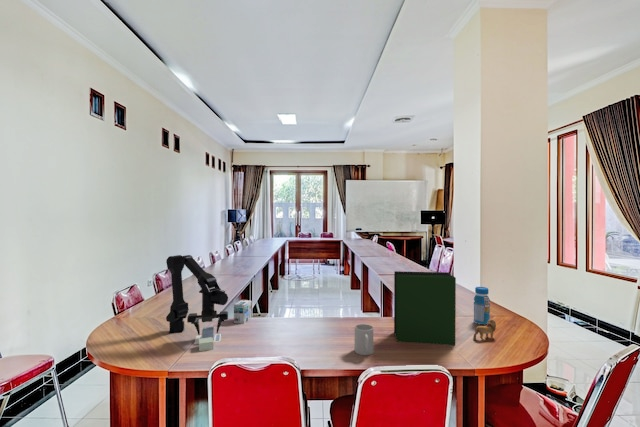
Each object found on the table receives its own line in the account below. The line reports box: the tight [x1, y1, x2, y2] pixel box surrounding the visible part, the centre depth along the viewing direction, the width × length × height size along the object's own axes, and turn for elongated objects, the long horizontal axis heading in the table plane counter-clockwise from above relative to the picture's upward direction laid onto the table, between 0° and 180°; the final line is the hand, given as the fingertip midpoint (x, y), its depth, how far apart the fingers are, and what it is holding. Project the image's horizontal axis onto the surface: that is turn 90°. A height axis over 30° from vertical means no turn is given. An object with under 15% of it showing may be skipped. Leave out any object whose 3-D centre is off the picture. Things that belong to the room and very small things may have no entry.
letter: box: [193, 333, 222, 345], centre depth 165 cm, size 12×11×1 cm
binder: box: [393, 270, 457, 346], centre depth 168 cm, size 27×15×32 cm, turn 83°
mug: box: [353, 323, 374, 356], centre depth 150 cm, size 12×8×11 cm
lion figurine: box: [473, 318, 497, 342], centre depth 167 cm, size 15×5×9 cm, turn 119°
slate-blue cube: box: [201, 325, 215, 338], centre depth 165 cm, size 5×5×5 cm
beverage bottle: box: [473, 286, 491, 325], centre depth 191 cm, size 8×8×20 cm
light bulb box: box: [233, 299, 253, 325], centre depth 194 cm, size 11×7×11 cm, turn 168°
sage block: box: [198, 337, 214, 352], centre depth 154 cm, size 6×6×4 cm
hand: (208, 334), depth 165 cm, fingers open, 8 cm apart
